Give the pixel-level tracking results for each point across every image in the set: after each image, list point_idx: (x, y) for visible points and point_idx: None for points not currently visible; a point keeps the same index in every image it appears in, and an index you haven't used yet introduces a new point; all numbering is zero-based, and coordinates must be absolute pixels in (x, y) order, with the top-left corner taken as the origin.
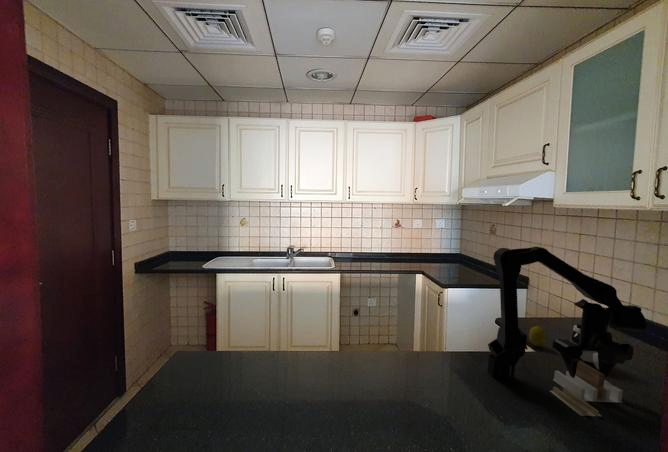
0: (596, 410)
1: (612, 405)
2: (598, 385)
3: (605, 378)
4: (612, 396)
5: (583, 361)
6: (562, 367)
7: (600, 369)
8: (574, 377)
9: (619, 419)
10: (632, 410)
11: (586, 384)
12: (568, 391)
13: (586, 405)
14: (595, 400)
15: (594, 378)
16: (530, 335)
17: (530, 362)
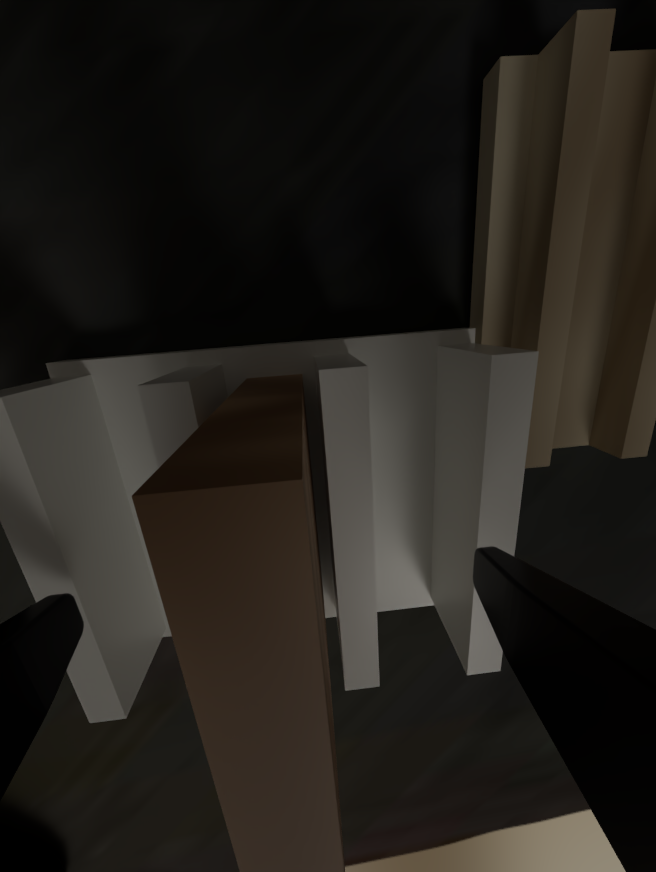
0: (589, 33)
1: (174, 344)
2: (293, 407)
3: (35, 603)
4: (100, 433)
5: (3, 864)
6: None
7: (3, 757)
8: (483, 548)
9: (284, 103)
10: (21, 289)
11: (370, 473)
12: (554, 405)
13: (585, 168)
14: (327, 352)
15: (310, 499)
16: None
17: (408, 771)
